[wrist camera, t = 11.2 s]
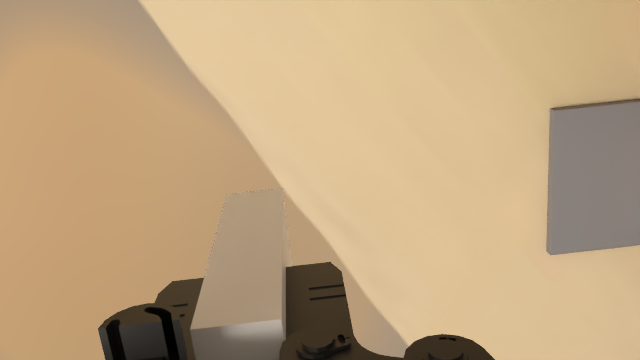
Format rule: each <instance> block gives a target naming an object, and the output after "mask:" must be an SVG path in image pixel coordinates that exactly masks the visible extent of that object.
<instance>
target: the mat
mask: <svg viewBox="0 0 640 360" xmlns="http://www.w3.org/2000/svg"><path fill="white" fill-rule="evenodd" d="M636 245H640V99H636V100H627V101H617V102H608V103H599V104H589V105H580V106H571V107H561V108H552V109H550V137H549V175H548V213H547V252H548V253H549V254H550V255H556V254H565V253H574V252H583V251H592V250H601V249H610V248H619V247H628V246H636Z"/></svg>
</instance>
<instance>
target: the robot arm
mask: <svg viewBox="0 0 640 360" xmlns="http://www.w3.org/2000/svg"><path fill="white" fill-rule="evenodd" d="M98 330H99V335H100V339H101V343H102V347H103V351H104V355H105V359H106V360H495V359H494V358H493V357H492V356H491V355H490V354H489V353H488V352H487V351H486V350H485V349H484V348H483V347H481V346H480V345H478V344H477V343H475V342H474V341H472V340H470V339H467V338H464V337H460V336H456V335H444V334H441V335H433V336H427V337H424V338H422V339H420V340H417V341H415V342H413V343H412V344H411V345H410V346H409V347H408V348H407V349H406V351H405V355H404V358H398V357H390V356H384V355H379V354H376V353H373V352H371V351H369V350H367V349H365V348H363V347H362V346H361V345H360V344H359V343H358V342H357V340H356V339H355V337H354V335H353V329H352V324H351V319H350V314H349V308H348V303H347V299H346V293H345V288H344V283H343V277H342V272H341V271H340V270H339V269H338V268H337V267H335V266H334V265H333V264H331V262H326V263H317V264H309V265H299V266H293V265H292V257H291V249H290V241H289V233H288V225H287V216H286V209H285V200H284V192H283V188H278V189H268V190H259V191H250V192H242V193H232V194H227V196H226V199H225V203H224V207H223V210H222V214H221V218H220V222H219V225H218V229H217V232H216V236H215V240H214V244H213V247H212V251H211V254H210V258H209V262H208V265H207V269H206V273H205V276H204V278H199V279H189V280H180V281H172V282H171V283H170V284H169V285H168V286H167V287H166V288H165V289H164V290H162V291H161V292H160V293H159V294H158V296H157V299H156V301H155V303H152V304H151V303H149V304H143V305H138V306H133V307H130V308H127V309H125V310H122V311H120V312H118V313H116V314H114V315H113V316H111V317H110V318H108V319H106V320H105V321H104V323H103V324H102V325H101V326H100V327H99V328H98Z"/></svg>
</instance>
